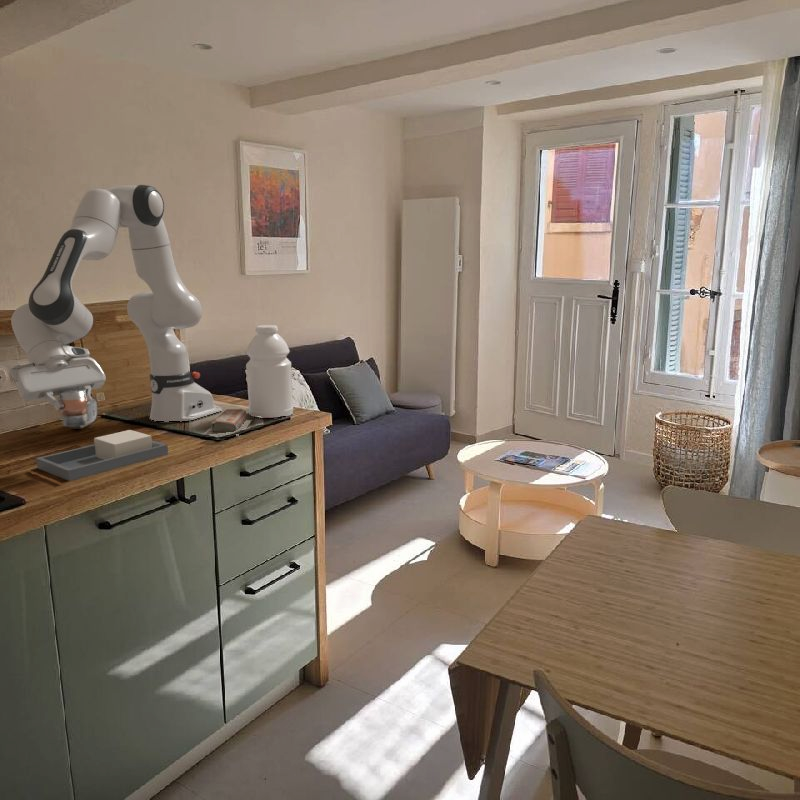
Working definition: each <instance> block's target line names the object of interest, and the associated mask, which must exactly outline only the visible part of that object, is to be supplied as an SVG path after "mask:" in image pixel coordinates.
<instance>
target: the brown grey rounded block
mask: <svg viewBox="0 0 800 800" xmlns="http://www.w3.org/2000/svg"><path fill="white" fill-rule="evenodd" d="M91 397H92V399H93V402H92V404H88V405H87V411H88V422H89V423H88V424H86V425H82V426H76V427H70V428H71V429H72V430H83V429H85V428H86V427H88V425H89V426H91V425H92V424H94V423H95V422H96V420H97V419H98V415H99V409H98V406H99V403H98V400H97V398H96V397H93V396H91Z"/></svg>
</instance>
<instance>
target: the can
mask: <svg viewBox="0 0 800 800" xmlns="http://www.w3.org/2000/svg"><path fill="white" fill-rule="evenodd" d="M59 393H60V395H59V400H62V403H63V404H64V407H63V409H61V410H60V413H61V416H62V425H63V427H68V428H71V427H76V426H82V425H86V424H88V423H89V422H88V411H87V401H86V394H85V390H84V389H70V390H64V391H61V392H59Z"/></svg>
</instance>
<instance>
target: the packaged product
mask: <svg viewBox="0 0 800 800" xmlns="http://www.w3.org/2000/svg"><path fill="white" fill-rule="evenodd" d="M246 416H247V411H246V410H245V409H242V408H230V409H229V408H228V409H225V410H224V411H222V413H221V414H220V415H218V416H217V418H215V419H214V420H213V421H212V422H211V427H210V428H209V429H207V430H206V431H205V432H204V433H203V436H204V435H209V434H218V433H226V432H234V431H236V430H238V429H239V428H240V427H241V426H242V424H244V422H245V421H246V419H247V418H246ZM236 436H239V434H236ZM239 437H240V436H239Z"/></svg>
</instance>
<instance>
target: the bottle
mask: <svg viewBox="0 0 800 800" xmlns="http://www.w3.org/2000/svg"><path fill="white" fill-rule="evenodd" d="M277 332H279V328H278V325H276V324H261V325H260V324H259V325H257V326H256V327H255V333H257V334H255V336H254V337H253V338H252V339H251V340H250V342H249V344H248V347H247V350H246V355H247V356H248V358H249V360H248V361H247V363H246V365H245V369H246V381H247V382H246V383H247V395H248V413H249V415H250V414H251V415H254V416H261V417H280V416H286V417H289V416H291V415H292V414H294V401H293V397H294V396H293V380H292V379H293V378H292V360H291V361H290V360H289V358H287V356H288V355H289V354H290V351H291V350H290V349H289V346H288V344H287V342H286V340H285V339H284V338H283V337H282V335H280V334H278V333H277Z"/></svg>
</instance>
